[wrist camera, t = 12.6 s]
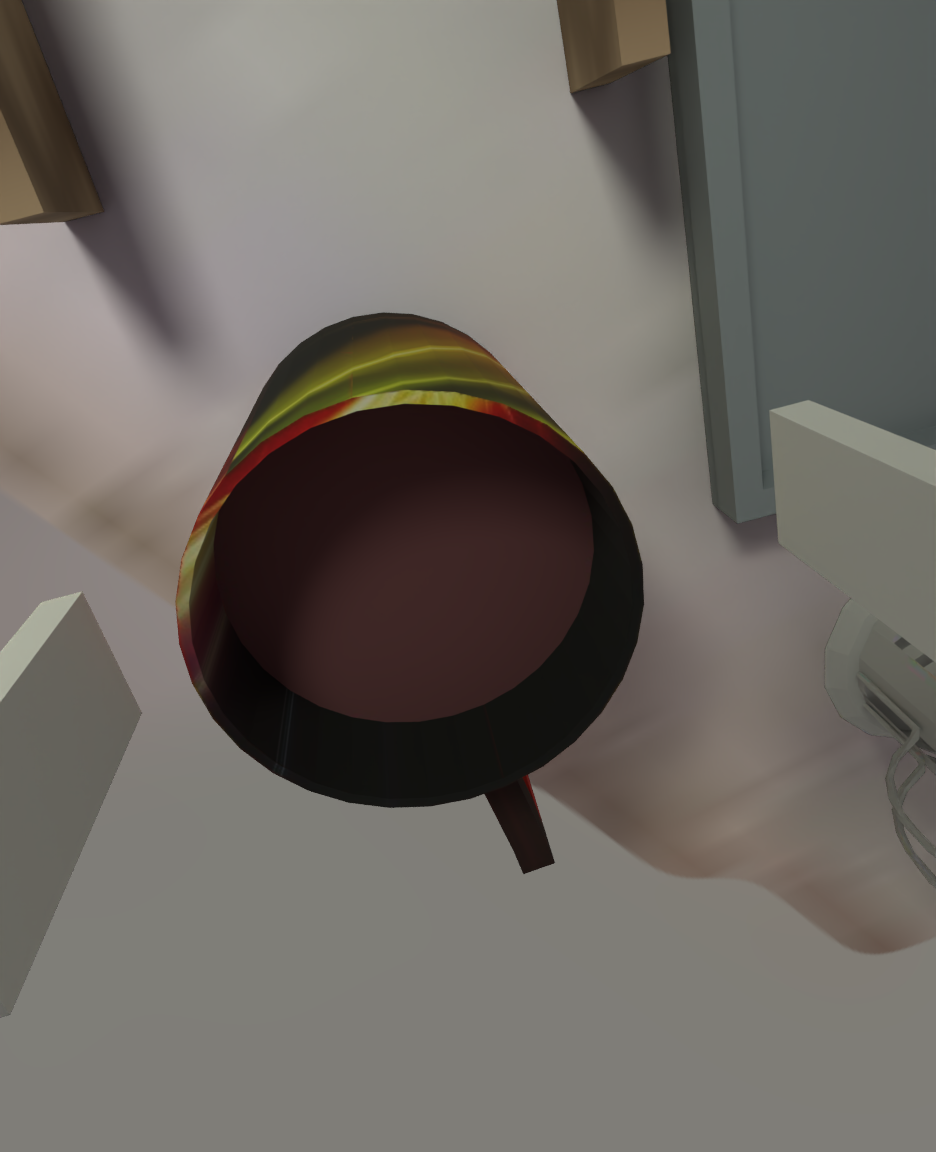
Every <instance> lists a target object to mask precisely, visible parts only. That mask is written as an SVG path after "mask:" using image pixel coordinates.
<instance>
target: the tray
mask: <svg viewBox="0 0 936 1152" xmlns="http://www.w3.org/2000/svg"><path fill="white" fill-rule="evenodd" d="M666 10H667V20H668V30H669V40H670V51H671V54H669V55H668V62H669V72H670V82H671V92H672V102H673V112H674V122H675V132H676V142H677V152H678V162H679V172H680V182H681V192H682V202H683V212H684V222H685V232H686V242H687V252H688V262H689V272H690V282H691V292H692V302H693V312H694V322H695V332H696V342H697V352H698V362H699V372H700V382H701V392H702V402H703V412H704V422H705V432H706V442H707V452H708V462H709V472H710V482H711V492H712V502H713V504H714V505H715V506H716V507H717V508H719V509H720V510H721V511H722V512H723V513H725V514H726V515H727V516H728V517H730V518H731V519H732V520H733V521H734V522H736V523H737V524H738V523H742V522H746V521H749V520H753V519H757V518H761V517H764V516H768V515H772V514H776V501H775V487H774V472H773V458H772V443H771V429H770V414H769V410H772V409H776V408H780V407H784V406H788V405H791V404H795V403H799V402H803V401H807V400H810V401H812V402H815V403H817V404H820V405H823V406H825V407H828V408H830V409H833V410H835V411H838V412H840V413H843V414H845V415H848V416H850V417H853V418H855V419H858V420H861V421H863V422H866V423H868V424H871V425H873V426H876V427H878V428H881V429H883V430H886V431H888V432H891V433H893V434H896V435H898V436H901V437H904V438H906V439H909V440H911V441H914V442H916V443H919V444H921V445H924V446H926V447H929V448H931V449H934V450H936V0H666Z"/></svg>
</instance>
